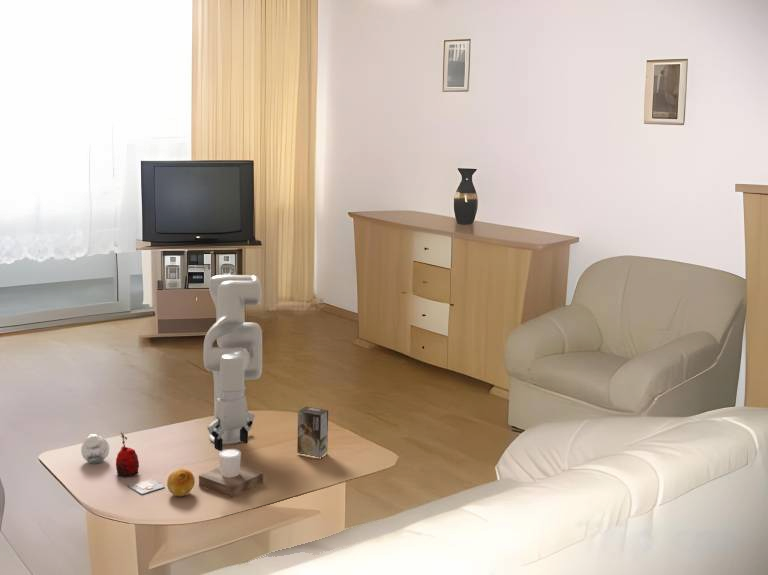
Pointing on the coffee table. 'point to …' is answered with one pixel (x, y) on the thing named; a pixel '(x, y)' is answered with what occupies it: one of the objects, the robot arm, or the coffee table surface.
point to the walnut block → (231, 481)
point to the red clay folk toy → (127, 461)
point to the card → (146, 486)
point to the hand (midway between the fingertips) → (231, 445)
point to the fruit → (180, 482)
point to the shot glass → (230, 462)
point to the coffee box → (312, 431)
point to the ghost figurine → (95, 448)
